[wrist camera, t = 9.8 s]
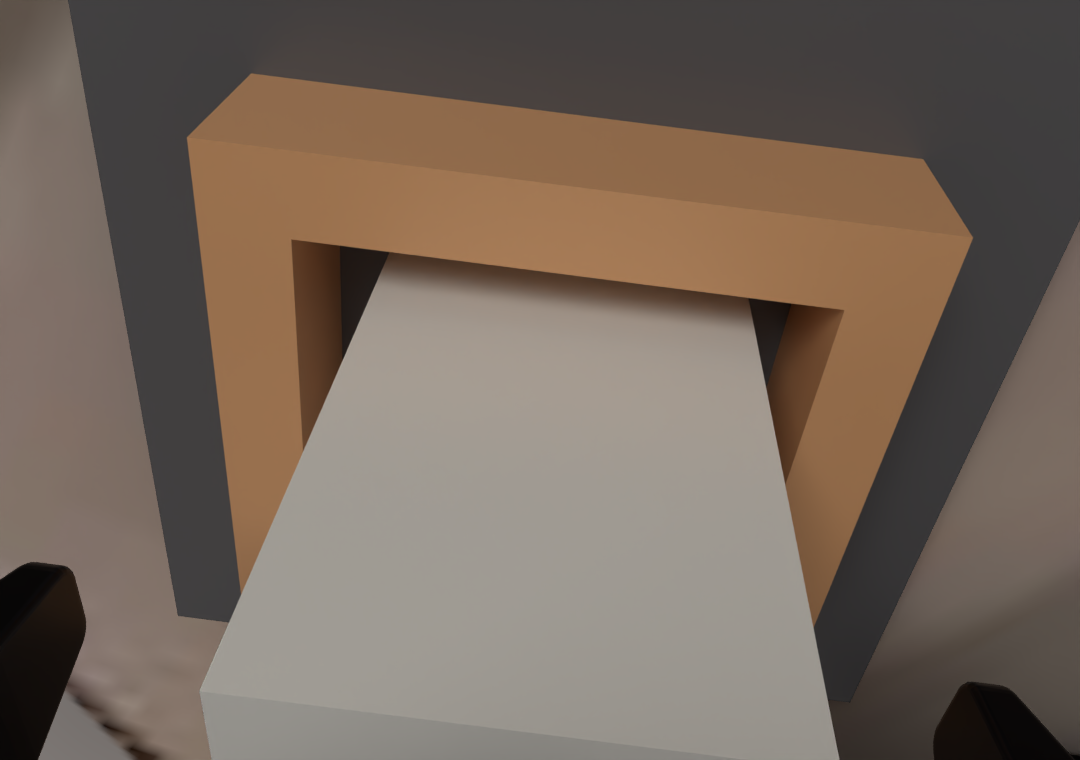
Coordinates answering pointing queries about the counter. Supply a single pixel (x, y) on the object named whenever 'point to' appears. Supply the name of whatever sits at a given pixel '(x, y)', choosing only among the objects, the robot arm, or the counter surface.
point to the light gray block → (530, 539)
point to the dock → (590, 225)
